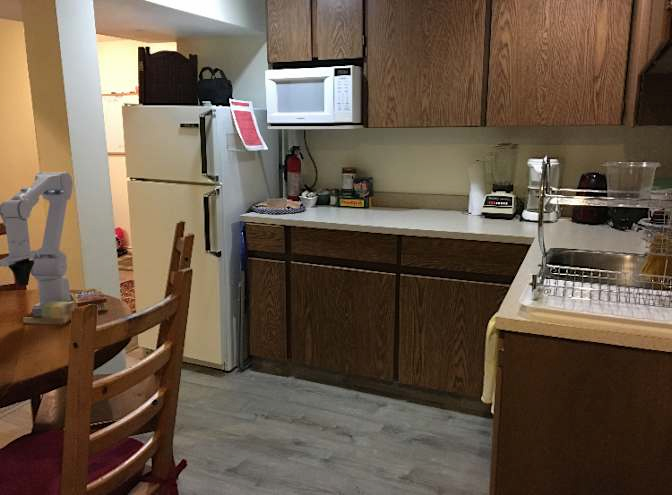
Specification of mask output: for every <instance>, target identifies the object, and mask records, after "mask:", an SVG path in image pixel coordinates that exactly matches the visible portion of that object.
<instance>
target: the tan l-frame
mask: <svg viewBox="0 0 672 495" xmlns="http://www.w3.org/2000/svg"><path fill="white" fill-rule="evenodd" d="M74 308H75V301H71V300H70V301H68V303H66V304H64V305H62V306H60V307H59V315H60V318H35V317H33V316H32V317H31V316H29V317H28V316H27V317H26V316H23V318H22V320H23V321H22V322H23V323H24V324H43V325H45V324H46V325H64V324H66V323H68V322H69V320H70V318H71V312H72V310H73V309H74ZM67 321H68V322H67ZM70 321H71V320H70ZM65 322H66V323H65ZM63 323H64V324H63Z"/></svg>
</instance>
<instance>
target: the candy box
mask: <svg viewBox="0 0 672 495" xmlns="http://www.w3.org/2000/svg"><path fill="white" fill-rule="evenodd" d="M70 299H71V300H70V301H75V308H77V307H82V306H85V305H88V304H98V306H99V311H98V312H102V311H107V310H108V309H109V308H108V300H107V297H106V296H105V294H104V293H103V292H102V291H101V290H100V289H99V287H94V288H93V287H92V288H85V289H81V290H79V289H78V290H73V291H70Z"/></svg>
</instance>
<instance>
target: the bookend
mask: <svg viewBox="0 0 672 495" xmlns="http://www.w3.org/2000/svg"><path fill="white" fill-rule="evenodd" d="M43 305H45V304H42V305H40V306H37V307H32V309H31V310H32V317H35V318H42V310H41V306H43Z"/></svg>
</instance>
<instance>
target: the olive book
mask: <svg viewBox="0 0 672 495" xmlns="http://www.w3.org/2000/svg"><path fill="white" fill-rule="evenodd" d="M57 303H59V302H56V301H51V302H49V303H47V304H45V305H43V306H41V310H42V318H52V316H51V308H50V307H51V306H53V305H55V304H57Z"/></svg>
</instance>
